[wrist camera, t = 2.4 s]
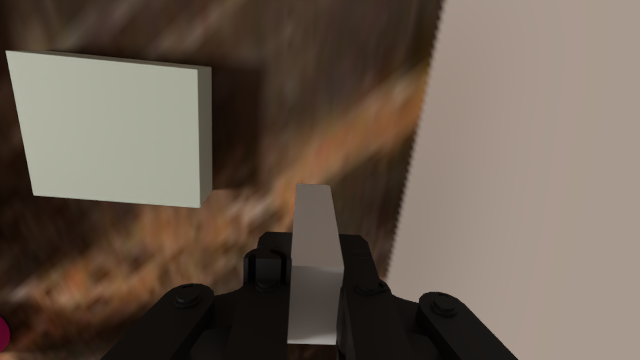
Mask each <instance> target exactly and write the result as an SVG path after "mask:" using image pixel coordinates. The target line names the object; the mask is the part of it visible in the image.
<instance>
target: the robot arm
mask: <svg viewBox="0 0 640 360" xmlns="http://www.w3.org/2000/svg"><path fill="white" fill-rule="evenodd" d="M336 335H337V341H338V348H337V357H336V360H518V359H517V358H516V357H515V356H514V355H513V354H512V353H511V352H510V351H509V350H508V349H507V348H506V347H505V346H504V345H503V343H502V342H501V341H500V340H499V339H498V338H497V337H496V336H495V335H494V334H493V333H492V332H491V331H490V330H489V329H488V328H487V327H486V326H485V325H484V324H483V323H482V322H481V321H480V320H479V319H478V318H477V317H476V316H475V315H474V313H473V312H472V311H470V309H469V308H468V307H467V306H466V305H465V304H464V303H462V302H461V301H460V300H458V299H457V298H455V297H453V296H451V295H449V294H446V293H441V292H428V293H425V294H423V295H422V296H421V297H420V298H419V303H416V302H412V301H409V300H405V299H402V298H399V297H396V296H394V295H392V293H391V290H390V288H389V287H388V285H387V284H386V283H385V282H384V281H382V280H381V279H379V276H378V273H377V270H376V267H375V264H374V261H373V258H372V255H371V252H370V248H369V245H368V242H367V241H366V240H365V239H363V238H362V237H361V236H360V235H347V234H338V230H337V224H336V219H335V213H334V207H333V202H332V196H331V190H330V185H316V184H298V183H297V184H296V197H295V210H294V223H293V233H287V232H265V233H264V234H263V235H262V236H261V237H260V238H259V241H258V245H257V249H253V250H251V251H250V252H248V253H247V254H246V255H245V257H244V280H243V286H242V287H241V288H240V289H238V290H235V291H233V292H230V293H226V294H221V295H215V296H214V292H213V291H212V290H211V289H210V288H209V287H208V286H205V285H203V284H194V283H191V284H184V285H180V286H178V287H175V288H173V289H171V290H170V291H168V292H167V293H166V294H165V295H164V296H163V297H162V298H161V299H160V300H159V301H158V302H157V303H156V304H155V305H154V306H153V307H152V308H151V309H150V310H149V311H148V312H147V313H146V314H145V315H144V316H143V317H142V318H141V319H140V320H139V321H138V322H137V323H136V324H135V325H134V326H133V327H132V328H131V329H130V330H129V331H128V332H127V333H126V334H125V335H124V336H123V337H122V338H121V339H120V340H119V341H118V342H117V343H116V344H115V345H114V346H113V347H112V348H111V349H110V350H109V351H108V352H107V353H106V354H105V355H104V356H103V357H102V358H101V359H100V360H286V359H287V343H298V344H330V345H335V344H336Z"/></svg>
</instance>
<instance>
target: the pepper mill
mask: <svg viewBox="0 0 640 360" xmlns="http://www.w3.org/2000/svg"><path fill="white" fill-rule="evenodd" d="M9 341H10V330H9V327H8V325H7V324H6V322H5V320H4V319H3V318H2V317H1V316H0V352H1V351H2V350H3V349H4V348H5V347H6V346H7V345H8V343H9Z"/></svg>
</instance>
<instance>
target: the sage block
mask: <svg viewBox="0 0 640 360" xmlns="http://www.w3.org/2000/svg"><path fill="white" fill-rule="evenodd" d="M6 55H7V60H8V66H9V71H10V76H11V81H12V86H13V91H14V97H15V102H16V107H17V112H18V117H19V122H20V128H21V133H22V138H23V143H24V148H25V154H26V159H27V164H28V169H29V174H30V179H31V185H32V190H33V195H36V196H49V197H62V198H76V199H89V200H102V201H115V202H129V203H142V204H155V205H169V206H182V207H195V208H200V207H201V206H202V204H203V203H204V201H205V200H206V198H207V197H208V195H209V194H210V193H211V191H212V70H211V67H206V66H196V65H186V64H176V63H166V62H156V61H146V60H136V59H126V58H116V57H106V56H96V55H86V54H76V53H66V52H56V51H46V50H37V51H6Z"/></svg>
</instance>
